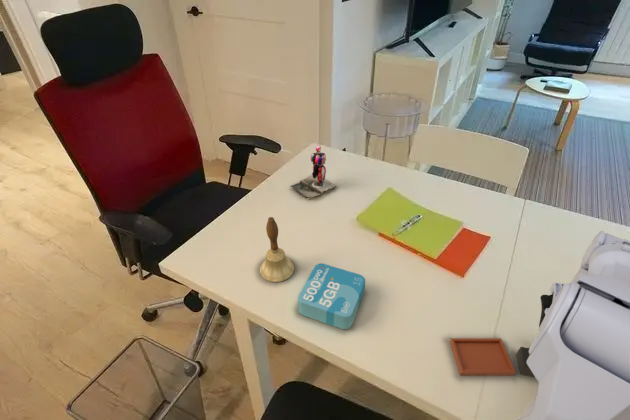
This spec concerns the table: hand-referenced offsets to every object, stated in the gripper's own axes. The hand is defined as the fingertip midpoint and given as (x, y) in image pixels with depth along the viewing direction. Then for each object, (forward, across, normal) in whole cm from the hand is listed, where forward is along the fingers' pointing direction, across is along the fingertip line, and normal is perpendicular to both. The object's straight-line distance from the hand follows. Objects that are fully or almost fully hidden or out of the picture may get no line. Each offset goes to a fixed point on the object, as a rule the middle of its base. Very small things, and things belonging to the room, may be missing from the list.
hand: (550, 348), depth 66 cm
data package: (+5, -6, -34) cm, 35 cm away
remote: (+7, 0, 0) cm, 7 cm away
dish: (+7, 0, -10) cm, 12 cm away
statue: (+7, -49, -54) cm, 73 cm away
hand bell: (+7, -14, -55) cm, 57 cm away
